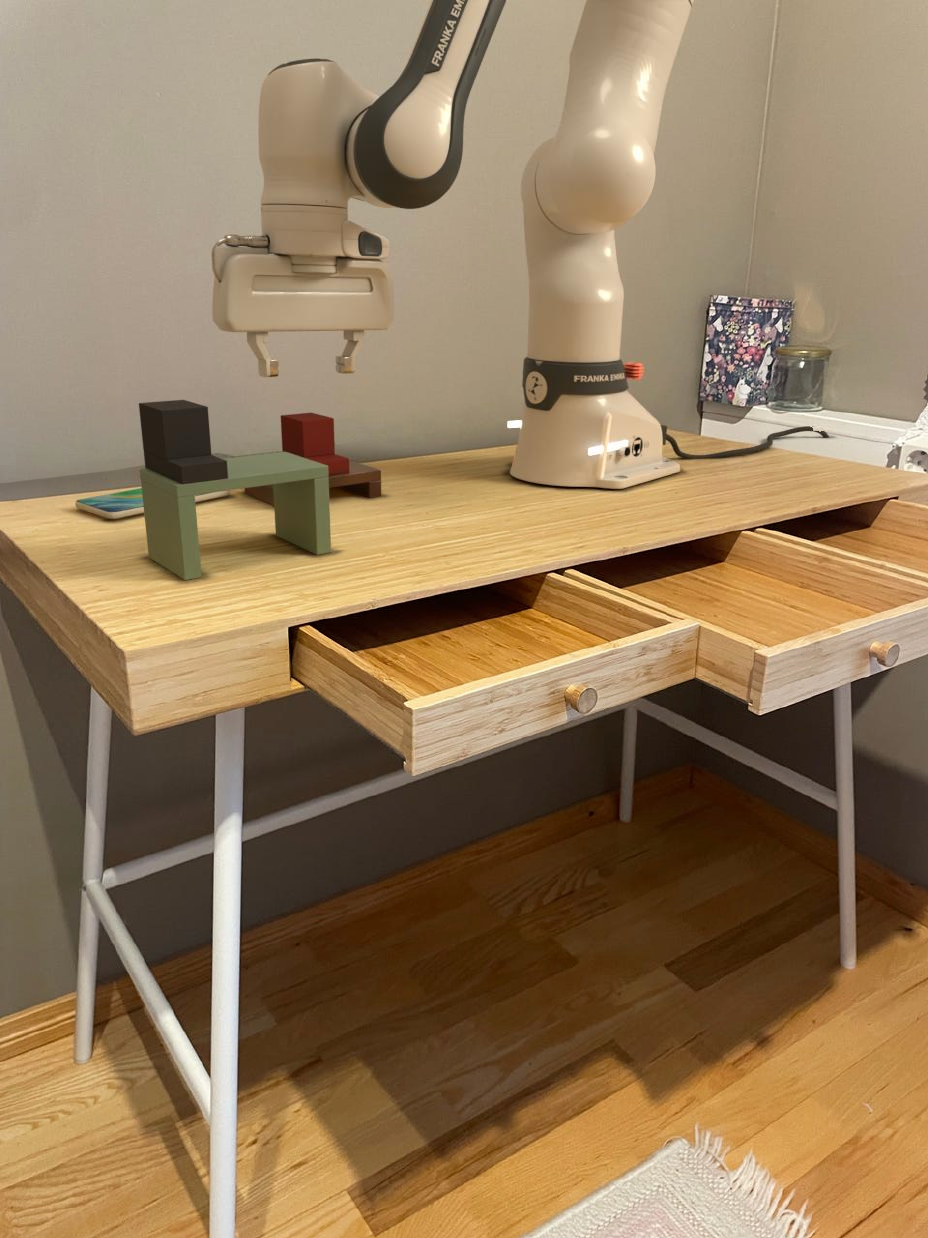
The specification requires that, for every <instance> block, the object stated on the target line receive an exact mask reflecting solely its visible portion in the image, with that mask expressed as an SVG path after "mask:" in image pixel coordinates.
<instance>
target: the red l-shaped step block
mask: <svg viewBox="0 0 928 1238" xmlns="http://www.w3.org/2000/svg"><path fill="white" fill-rule="evenodd" d="M280 433H281V450H282V451H281V452H288V453H291V454H294V455H297V456H300V457H303V458H306V459H309V460H312V461H315V462H318V463H321V464H324V465H327V466H328V473H329V475H330V474H337V473H344V472H349V460H350V458H349V457H345V456H343V455H339V454H336V449H335V446H336V444H335V443H336V442H335V441H336V440H335V418H334V417H330V416H327V415H322V414H319V413H315V412H301V413H292V414H281V415H280Z"/></svg>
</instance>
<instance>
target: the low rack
mask: <svg viewBox="0 0 928 1238" xmlns="http://www.w3.org/2000/svg"><path fill="white" fill-rule="evenodd" d="M328 478H329V489H331V488H337V487H338V488H340V489H344V490H347V491H350V492H352V493H355V494H358V495H361V496H364V497H366V498H369V499H371V498H377V497H382V470H381V469H379V468H376V467H373V466H369V465H367V464H363V463H360V462H357V461H353V460H350V459H349V472H344V473H337V474H330V475H329V476H328ZM243 491H244V494H246V495H248V496H251V497H253V498H255V499H258V500H261V501H263V502H265V503H267V504H270V505H272V506H274V494H273V484H272V485H264V486H257V487H250V488H243Z"/></svg>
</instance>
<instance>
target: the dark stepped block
mask: <svg viewBox="0 0 928 1238" xmlns="http://www.w3.org/2000/svg"><path fill="white" fill-rule="evenodd" d="M138 411H139V419H140V420H139V421H140V429H141V430H140V431H141V441H142V449H143V458H144V460H143V461H144V468H148V469H150V470H152V471H154V472H156V473H159V474H161V475H163V476H165V477H167V478H170V479H172V480H174V481H176V482H178V483H181V484H189V483H197V482H205V481H212V480H220V479H228V469H227V461H226V460H224V459H225V458H221V457H219V456H215V455H213V454H212V445H211V431H210V429H211V428H210V417H209V407H208V406H207V405H203V404H199V403H197V402H193V401H189V400H186V399H176V400H175V399H174V400H162V401H148V402H138Z"/></svg>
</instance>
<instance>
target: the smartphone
mask: <svg viewBox="0 0 928 1238" xmlns="http://www.w3.org/2000/svg"><path fill="white" fill-rule="evenodd" d="M229 493H230V490H228V491H221V492H213V493H206V494H199V495H195V503H200V502H203V501H209V500H213V499H218V498H223V497H227V496H228V495H229ZM74 504H75V507H76V508H77V509H78V510H80V511H84V512H86V513H87V512H88V513H91V514H94V515H97V516H100V517H103V518H105V519H108V520H109V519H110V520H118V519H121V518H127V517H131V516H137V515H141V514H144V506H143V497H142V487H139V488H135V489H129V490H124V491H123V490H122V491H117V492H113V493H108V494H103V495H97V496H91V497H86V498H80V499H77V500H75V502H74Z"/></svg>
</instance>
